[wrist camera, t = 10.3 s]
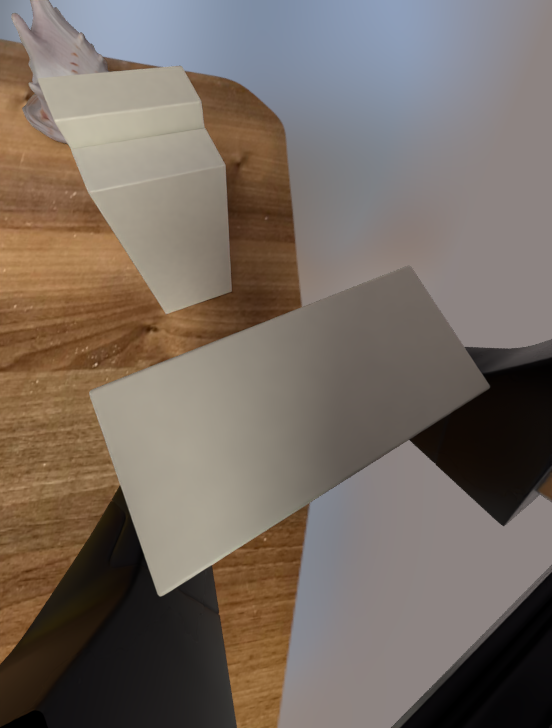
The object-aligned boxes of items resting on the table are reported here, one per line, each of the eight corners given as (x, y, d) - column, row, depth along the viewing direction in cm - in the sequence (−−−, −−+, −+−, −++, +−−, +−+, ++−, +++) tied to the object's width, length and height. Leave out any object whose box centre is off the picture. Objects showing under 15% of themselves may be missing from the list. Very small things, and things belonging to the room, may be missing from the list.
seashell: (54, 75, 27) (-36, -96, 18) (162, 103, 29) (128, -43, 20) (19, 136, 24) (-106, -30, 16) (141, 164, 26) (90, 26, 17)
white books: (234, 290, 24) (230, 141, 11) (163, 315, 22) (64, 170, 10) (209, 239, 25) (180, 51, 12) (139, 259, 23) (22, 63, 11)
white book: (311, 416, 16) (493, 387, 5) (221, 463, 14) (157, 602, 3) (291, 376, 17) (410, 263, 5) (202, 418, 15) (85, 390, 4)
